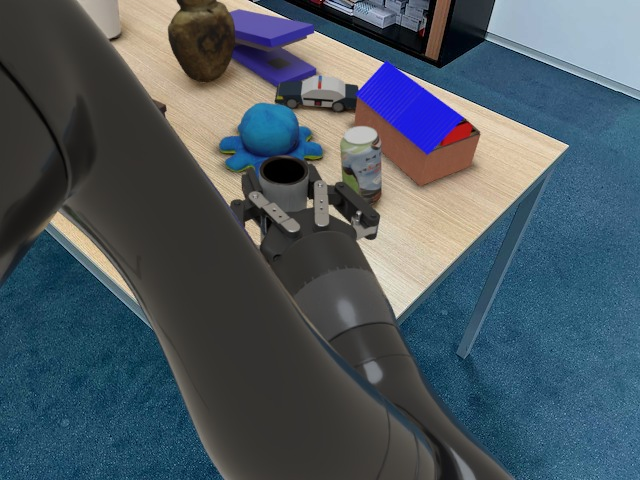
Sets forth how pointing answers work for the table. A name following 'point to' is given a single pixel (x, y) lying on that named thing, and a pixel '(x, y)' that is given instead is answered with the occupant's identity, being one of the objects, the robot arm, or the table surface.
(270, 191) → the planter
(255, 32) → the stapler
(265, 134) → the plush toy
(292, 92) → the toy car
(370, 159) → the beverage can
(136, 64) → the table surface
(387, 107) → the house
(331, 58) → the table surface
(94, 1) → the cup
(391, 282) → the table surface
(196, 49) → the sculpture
